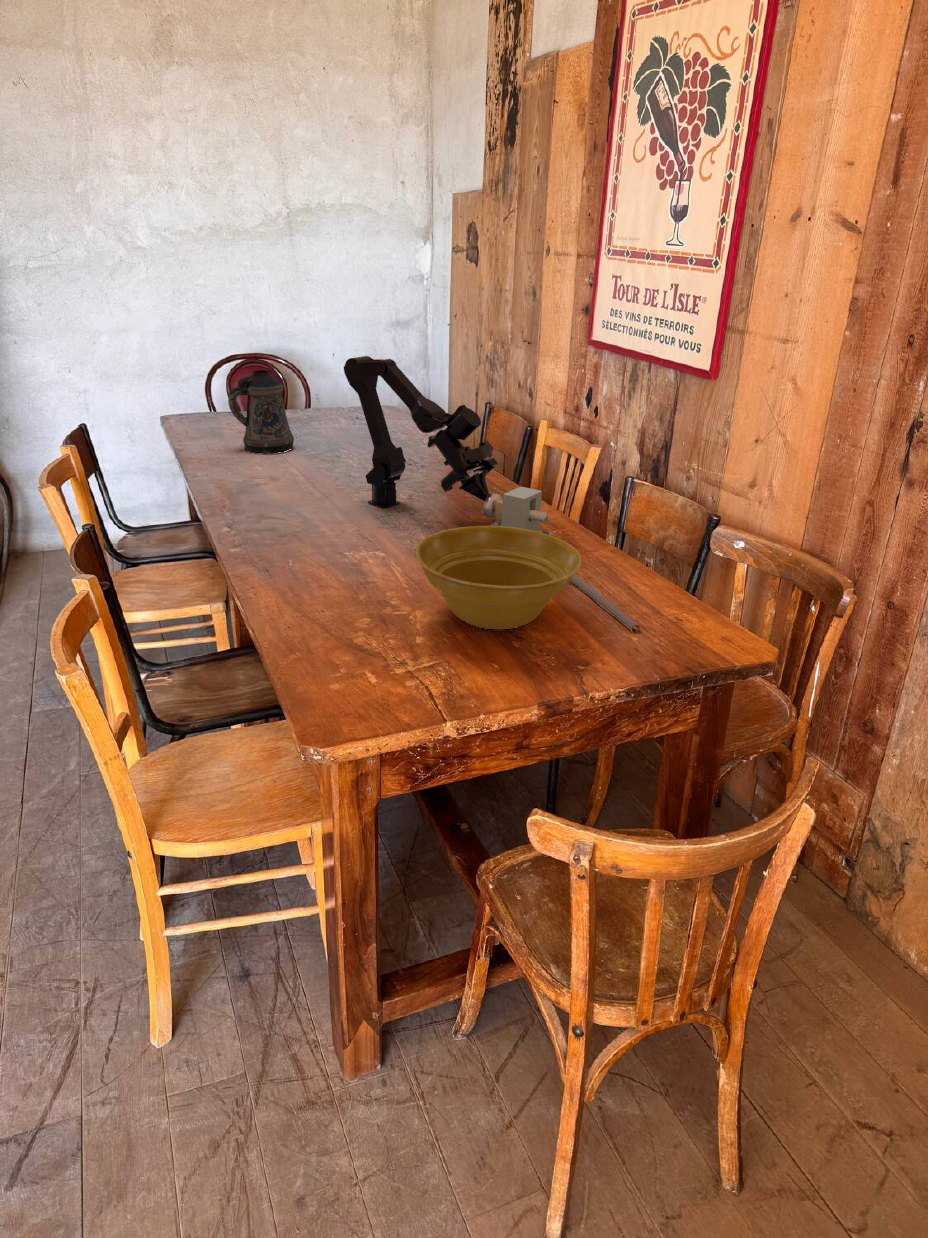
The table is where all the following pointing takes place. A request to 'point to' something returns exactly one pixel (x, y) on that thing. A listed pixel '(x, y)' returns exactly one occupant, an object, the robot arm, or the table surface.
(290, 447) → the beer stein
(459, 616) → the planter bowl
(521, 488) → the bearing block
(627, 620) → the metal rod
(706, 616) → the table surface
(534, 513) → the shaft
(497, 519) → the spacer collar
